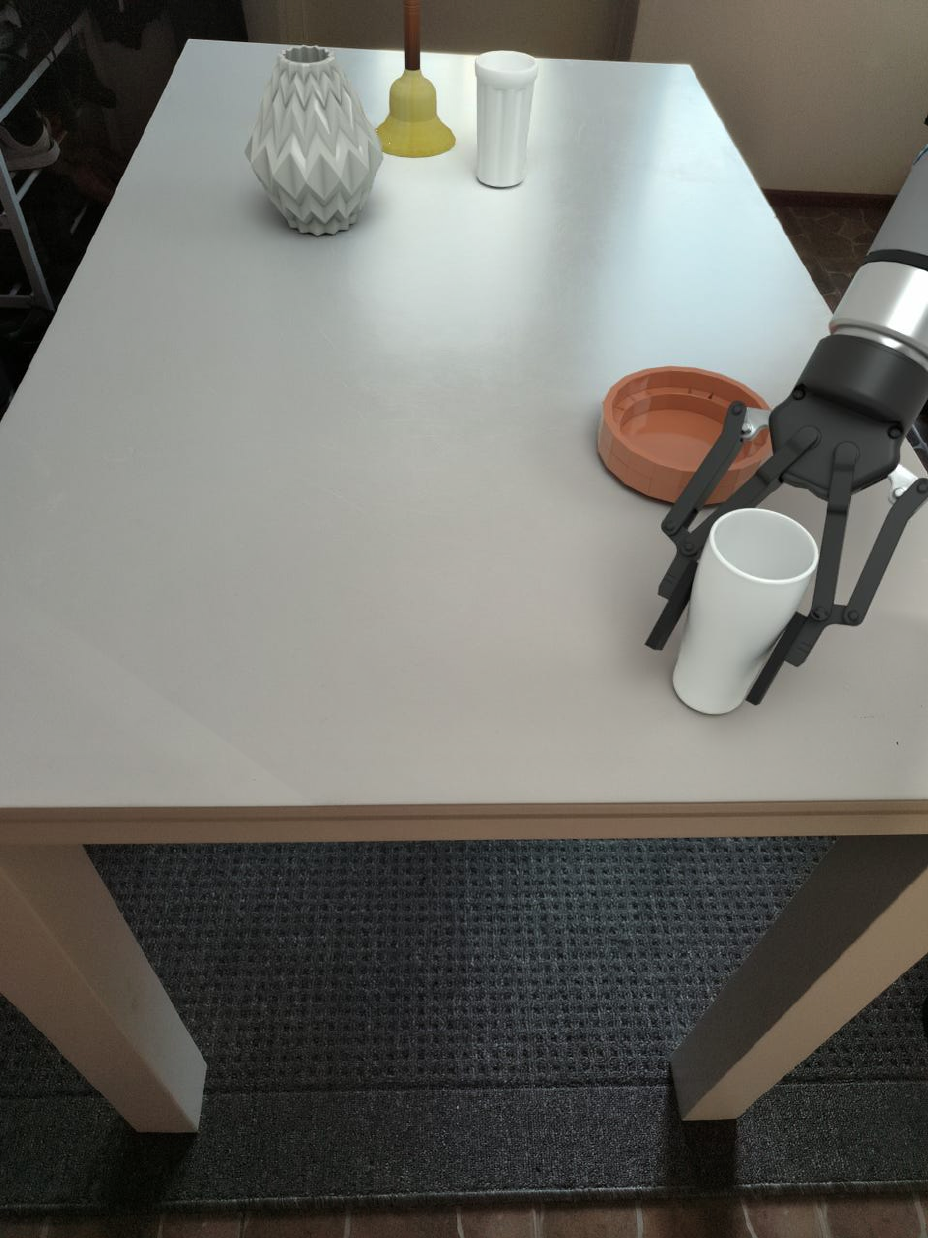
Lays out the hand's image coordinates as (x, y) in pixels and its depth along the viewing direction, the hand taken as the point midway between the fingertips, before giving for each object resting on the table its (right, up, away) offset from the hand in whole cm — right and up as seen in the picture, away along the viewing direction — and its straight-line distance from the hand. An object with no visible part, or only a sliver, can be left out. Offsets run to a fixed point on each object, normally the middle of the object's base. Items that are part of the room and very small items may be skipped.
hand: (702, 673), depth 60 cm
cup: (-11, +63, +61) cm, 89 cm away
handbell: (-23, +73, +69) cm, 103 cm away
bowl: (+4, +19, +24) cm, 31 cm away
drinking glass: (+2, -2, +6) cm, 7 cm away
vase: (-34, +54, +52) cm, 82 cm away
